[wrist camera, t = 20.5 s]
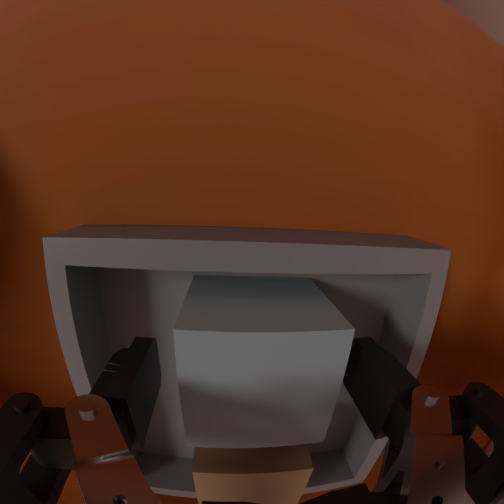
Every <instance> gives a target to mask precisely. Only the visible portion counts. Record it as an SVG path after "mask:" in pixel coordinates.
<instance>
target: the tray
mask: <svg viewBox="0 0 504 504" xmlns="http://www.w3.org/2000/svg"><path fill="white" fill-rule="evenodd" d="M43 248H44V258H45V267H46V274H47V282H48V288H49V294H50V300H51V305H52V310H53V315H54V320H55V324H56V328H57V333H58V337H59V341H60V344H61V348H62V352H63V355H64V359H65V362H66V365H67V368H68V372H69V375H70V378H71V381H72V384H73V386H74V389H75V392H76V395H77V396H80V395H85V394H89V393H90V391H91V389H92V388H93V386H94V384H95V383H96V381H97V379H98V378H99V376H100V374H101V373H102V371H104V368H105V366H106V365H107V364H108V361H109V360H110V358H111V357H112V355H113V354H114V353H116V352H117V351H118V350H120V349H121V348H129V347H130V345H131V344H132V342H133V340H134V338H135V337H136V336H138V337H149V338H156V340H157V345H158V353H159V361H160V368H161V386H160V390H159V393H158V397H157V400H156V403H155V407H154V410H153V414H152V417H151V421H150V424H149V428H148V431H147V435H146V439H145V442H144V446H143V450H139V449H133V448H132V450H131V453H132V455H133V457H134V459H135V460H136V462H137V464H138V466H139V468H140V470H141V472H142V473H143V475H144V477H145V479H146V480H147V482H148V484H149V485H150V487H151V489H152V490H153V492H154V493H156V494H163V495H170V496H179V497H190V498H197V494H196V489H195V484H194V478H193V459H194V448H195V447H192V446H187V443H186V437H185V431H184V424H183V417H182V410H181V403H180V395H179V387H178V378H177V368H176V358H175V346H174V333H173V329H174V326H175V323H176V321H177V318H178V315H179V313H180V310H181V307H182V305H183V302H184V299H185V297H186V294H187V292H188V289H189V287H190V284H191V281H192V279H193V276H194V275H222V276H257V277H309V278H310V279H311V280H312V281H313V282H314V283H315V284H316V285H317V287H318V288H319V289H320V290H321V291H322V292H323V293H324V294H325V295H326V297H327V298H328V299H329V300H330V301H331V302H332V303H333V304H334V306H335V307H336V308H337V309H338V310H339V311H340V312H341V313H342V315H343V316H344V317H345V318H346V319H347V320H348V321H349V323H350V324H351V325H352V326H353V327H354V328H355V332H354V337H353V338H360V337H371V338H372V339H373V340H374V341H375V342H376V343H377V344H378V345H379V347H382V348H384V349H386V350H388V351H389V352H391V353H392V354H393V355H394V356H395V357H396V358H397V359H398V361H400V362H401V363H402V364H403V367H405V368H406V369H407V370H408V371H409V372H410V373H411V374H412V375H413V376H414V377H415V379H417V377H418V374H419V371H420V369H421V366H422V363H423V360H424V358H425V355H426V352H427V349H428V346H429V343H430V340H431V336H432V333H433V330H434V326H435V323H436V319H437V316H438V312H439V308H440V304H441V300H442V296H443V291H444V287H445V282H446V277H447V272H448V267H449V261H450V255H451V250H449V249H446V248H443V247H440V246H437V245H434V244H431V243H428V242H424V241H421V240H418V239H415V238H412V237H408V236H398V235H384V234H369V233H352V232H335V231H316V230H296V229H273V228H247V227H216V226H173V225H82V226H78V227H75V228H71V229H68V230H65V231H61V232H58V233H55V234H52V235H48V236H45V237H43ZM387 441H388V437H385V438H381V439H378V440H375V438H374V437H373V435H372V433H371V431H370V430H369V428H368V426H367V424H366V422H365V421H364V419H363V417H362V415H361V414H360V412H359V410H358V408H357V407H356V405H355V403H354V401H353V400H352V398H351V396H350V394H349V393H348V391H347V389H346V387H345V386H344V383H343V381H342V385H341V388H340V392H339V395H338V399H337V402H336V405H335V409H334V412H333V415H332V418H331V421H330V424H329V427H328V430H327V433H326V436H325V439H324V441H323V442H316V443H309V444H306V445H307V448H308V451H309V454H310V458H311V461H312V464H313V467H314V469H313V471H312V474H311V476H310V478H309V480H308V483H307V485H306V487H305V489H304V491H303V493H302V494H307V493H313V492H319V491H325V490H330V489H334V488H339V487H344V486H348V485H352V484H356V483H360V482H363V481H364V480H365V478H366V477H367V475H368V473H369V472H370V470H371V469H372V467H373V465H374V464H375V462H376V461H377V459H378V457H379V455H380V454H381V452H382V450H383V449H384V447H385V445H386V443H387Z"/></svg>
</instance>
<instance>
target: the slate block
mask: <svg viewBox="0 0 504 504" xmlns="http://www.w3.org/2000/svg"><path fill="white" fill-rule="evenodd" d="M354 332H355V328H354V327H353V326H352V325H351V324H350V323H349V321H348V320H347V319H346V318H345V317H344V316H343V315H342V313H341V312H340V311H339V310H338V309H337V308H336V307H335V306H334V304H333V303H332V302H331V301H330V300H329V299H328V298H327V297H326V295H325V294H324V293H323V292H322V291H321V290H320V289H319V288H318V287H317V285H316V284H315V283H314V282H313V281H312V280H311V279H310V278H309V277H257V276H222V275H194V276H193V279H192V281H191V284H190V287H189V289H188V292H187V294H186V297H185V299H184V302H183V305H182V307H181V310H180V313H179V315H178V318H177V321H176V323H175V326H174V329H173V333H174V346H175V358H176V368H177V378H178V387H179V395H180V403H181V410H182V417H183V424H184V431H185V437H186V443H187V446H192V447H209V448H261V447H278V446H290V445H300V444H309V443H316V442H323V441H324V439H325V436H326V433H327V430H328V427H329V424H330V421H331V418H332V415H333V412H334V409H335V405H336V402H337V399H338V395H339V392H340V388H341V385H342V381H343V378H344V374H345V370H346V366H347V362H348V358H349V354H350V350H351V346H352V341H353V337H354Z"/></svg>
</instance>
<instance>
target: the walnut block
mask: <svg viewBox="0 0 504 504" xmlns="http://www.w3.org/2000/svg"><path fill="white" fill-rule="evenodd" d="M313 469H314V467H313V464H312V461H311V458H310V454H309V451H308V448H307V445H306V444H300V445H290V446H278V447H261V448H209V447H195V448H194V459H193V478H194V484H195V489H196V494H197V499H198V504H202V501H221V502H241V501H245V502H251V503H258V504H298V502H299V500H300V498H301V496H302V493H303V491H304V489H305V487H306V485H307V483H308V480H309V478H310V476H311V474H312V471H313Z"/></svg>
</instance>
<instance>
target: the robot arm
mask: <svg viewBox="0 0 504 504" xmlns="http://www.w3.org/2000/svg"><path fill="white" fill-rule="evenodd" d="M343 383H344V386H345V387H346V389H347V391H348V393H349V394H350V396H351V398H352V400H353V401H354V403H355V405H356V407H357V408H358V410H359V412H360V414H361V415H362V417H363V419H364V421H365V422H366V424H367V426H368V428H369V430H370V431H371V433H372V435H373V437H374V438H375V440H378V439H381V438H385V437H388V439H389V442H388V443H387V445H386V449H385V454H384V458H383V462H382V466H381V470H380V474H379V478H378V482H377V485H376V487H375V489H374V491H373V492H369V490H368V487H367V485H366V483H364V484H360V485H357V486H353V487H349V488H344V489H340V490H336V491H331V492H328V493H326V494H323V495H321V496H318V497H316V498H313V499H311V500H308V501H305V502H303V503H300V504H464V502H465V490H466V491H467V493H468V494H469V495H470V497H471V498H472V500H473V501H474V503H475V504H504V399H503V398H502V397H501V396H500V395H499V394H498V393H496V392H495V391H494V390H493V389H492V388H491V387H489V386H488V385H486V384H484V383H480V382H473V383H470V384H468V385H467V386H466V388H465V390H464V392H463V394H462V395H457V396H448V395H447V393H446V392H445V391H444V390H443V389H441V388H439V387H437V386H434V385H429V384H424V385H421V384H420V383H419V382H418V381H417V380H416V379H415V377H414V376H413V375H412V374H411V373H410V372H409V371H408V370H407V369H406V368H405V367H403V364H402V363H401V362H400V361H398V359H397V358H396V357H395V356H394V355H393V354H392V353H391V352H389V351H388V350H386V349H384V348H382V347H379V345H378V344H377V343H376V342H375V341H374V340H373V339H372V338H371V337H360V338H353V341H352V346H351V350H350V354H349V358H348V362H347V366H346V370H345V374H344V378H343ZM160 386H161V368H160V361H159V353H158V345H157V340H156V338H149V337H138V336H136V337H135V338H134V340H133V342H132V344H131V345H130V347H129V348H121V349H120V350H118V351H117V352H116V353H114V354H113V355H112V357H111V358H110V360H109V361H108V364H107V365H106V366H105V368H104V371H102V373H101V374H100V376H99V378H98V379H97V381H96V383H95V384H94V386H93V388H92V389H91V391H90V393H89V394H85V395H80V396H77V397H75V398H73V399H72V400H70V401H69V402H68V404H67V405H66V408H53V407H44V406H43V404H42V402H41V400H40V398H39V397H38V396H36V395H35V394H32V393H27V392H24V393H18V394H15V395H13V396H12V397H10V398H9V399H8V400H7V402H6V403H5V404H4V405H3V406H2V408H1V409H0V504H57V502H58V499H59V497H60V494H61V492H62V489H63V487H64V485H65V482H66V480H67V478H68V475H69V473H70V471H71V470H75V474H76V477H77V480H78V483H79V486H80V489H81V492H82V494H83V497H84V500H85V503H86V504H161V503H160V502H159V500H158V499H157V497H156V495H155V494H154V492H153V490H152V489H151V487H150V485H149V484H148V482H147V480H146V479H145V477H144V475H143V473H142V472H141V470H140V468H139V466H138V464H137V462H136V460H135V459H134V457H133V455H132V453H131V450H132V448H133V449H139V450H143V446H144V442H145V439H146V435H147V431H148V428H149V424H150V421H151V417H152V414H153V410H154V407H155V403H156V400H157V397H158V393H159V390H160ZM479 427H480V428H481V429H482V430H483V431H484V432H485V433H486V434H487V435H488V437H489V438H490V439H491V440H492V441H493V443H494V450H493V452H492V454H491V455H490V457H488V456H487V455H486V454H485V453H484V451H483V450H482V449H481V448H480V447H479V446H478V444H477V443H476V442H475V441H474V440H473V439H472V437H473V435H474V434H475V432H476V431H477V429H478V428H479ZM29 452H30V453H31V455H30V457H29V458H28V460H27V462H26V464H25V465H24V467H23V469H22V471H21V473H20V474H19V471H20V468H21V466H22V464H23V462H24V461H25V459H26V457H27V455H28V454H29ZM202 504H258V503H251V502H245V501H241V502H221V501H202Z"/></svg>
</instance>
